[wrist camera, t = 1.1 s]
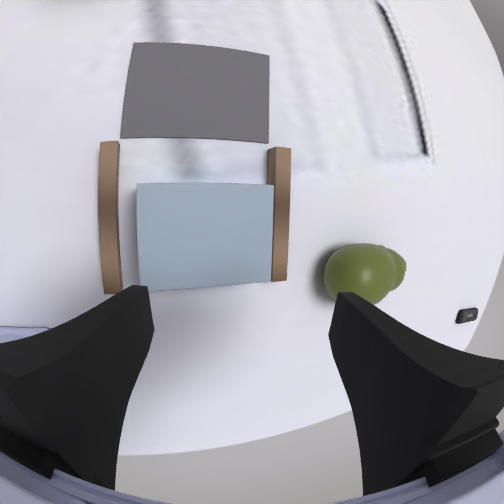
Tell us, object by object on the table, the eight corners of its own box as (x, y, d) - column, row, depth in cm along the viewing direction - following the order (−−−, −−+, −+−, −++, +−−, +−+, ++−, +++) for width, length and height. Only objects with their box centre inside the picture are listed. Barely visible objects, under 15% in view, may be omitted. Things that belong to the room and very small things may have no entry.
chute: (278, 275, 23) (286, 280, 22) (107, 287, 18) (104, 294, 17) (281, 151, 21) (290, 148, 20) (103, 146, 16) (100, 141, 15)
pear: (363, 250, 19) (421, 245, 24) (314, 240, 23) (379, 237, 28) (354, 323, 20) (413, 299, 25) (308, 303, 24) (373, 287, 29)
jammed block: (248, 266, 22) (270, 281, 18) (141, 273, 19) (140, 291, 15) (250, 186, 20) (273, 185, 17) (138, 186, 18) (136, 183, 14)
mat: (267, 143, 21) (268, 143, 21) (120, 138, 17) (120, 137, 17) (268, 56, 19) (269, 55, 19) (133, 43, 15) (133, 42, 15)
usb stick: (474, 306, 42) (480, 308, 40) (470, 319, 42) (476, 321, 41) (457, 308, 38) (464, 310, 37) (452, 322, 38) (459, 325, 37)
